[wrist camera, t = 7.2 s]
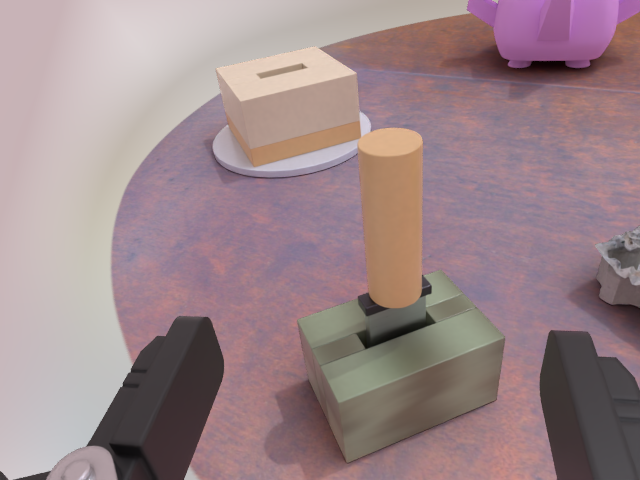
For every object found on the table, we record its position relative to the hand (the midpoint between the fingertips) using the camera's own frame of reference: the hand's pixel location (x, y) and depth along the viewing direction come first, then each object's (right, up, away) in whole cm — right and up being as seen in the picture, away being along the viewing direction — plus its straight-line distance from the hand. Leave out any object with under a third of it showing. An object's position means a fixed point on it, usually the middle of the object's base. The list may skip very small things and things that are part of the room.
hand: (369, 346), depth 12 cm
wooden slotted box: (-4, +14, +47) cm, 49 cm away
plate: (-4, +14, +47) cm, 49 cm away
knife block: (+3, -6, +17) cm, 19 cm away
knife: (+3, -6, +17) cm, 19 cm away
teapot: (+30, +28, +59) cm, 72 cm away
